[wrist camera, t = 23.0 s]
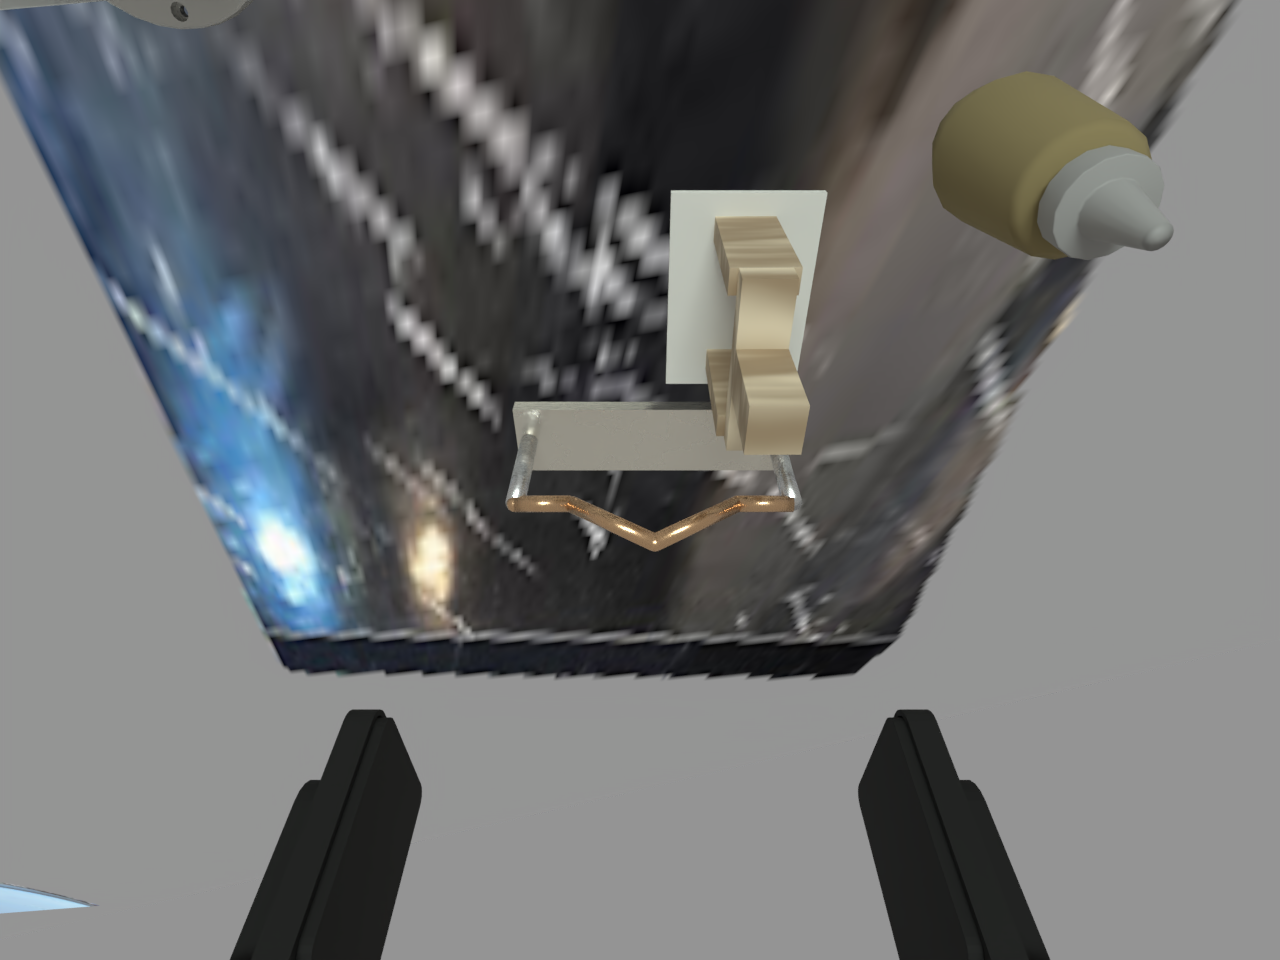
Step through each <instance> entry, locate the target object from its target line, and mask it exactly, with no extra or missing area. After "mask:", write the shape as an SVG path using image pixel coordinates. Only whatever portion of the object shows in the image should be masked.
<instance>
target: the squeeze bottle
mask: <svg viewBox="0 0 1280 960" xmlns="http://www.w3.org/2000/svg"><path fill="white" fill-rule="evenodd" d="M932 173H933V186H934V189H935V191H936V193H937V195H938V198H939V200H940V202H941V204H942V206H943V208H944V209H946V210H947V211H948V212H950V213H951V214H952V215H954V216H955V217H956V218H958V219H959V220H961V221H962V222H964V223H966V224H968V225H970V226H972V227H974V228H976V229H978V230H980V231H982V232H984V233H986V234H988V235H990V236H992V237H994V238H996V239H998V240H1000V241H1002V242H1004V243H1006V244H1008V245H1010V246H1012V247H1014V248H1016V249H1018V250H1020V251H1022V252H1024V253H1026V254H1028V255H1030V256H1033V257H1040V258H1047V259H1054V260H1055V259H1059V258H1064V257H1068V256H1069V257H1070V258H1077V259H1084V260H1090V259H1094V258H1099V257H1103V256H1107V255H1110V254H1112V253H1113V252H1115V251H1117V250H1119V249H1121V248H1122V247H1124V246H1126V247H1131V248H1136V249H1141V250H1146V251H1155V250H1159V249H1160V248H1162V247H1164V246H1165V245H1166V244H1167V243H1168V242H1169V241H1170V239H1171V238H1172V236H1173V232H1174V229H1173V226H1172V224H1171V223H1170V222H1169V221H1168V220H1167V219H1166V217H1165V216H1164V215H1163V214H1162V213H1161V211H1160V210H1159V209H1158V208H1159V206H1160V203H1161V198H1162V194H1163V189H1164V181H1163V177H1162V173H1161V169H1160V167H1159V166H1158V165H1157V164H1156V163H1155V162H1153V161H1152V157H1151V153H1150V149H1149V145H1148V141H1147V137H1146V136H1145V135H1144V134H1142V133H1141V132H1140V131H1139V130H1138V129H1137V128H1136V127H1135V126H1134V125H1133V124H1131V123H1130V122H1129V121H1128V120H1126V119H1124V118H1123V117H1121V116H1119V115H1118V114H1116V113H1114V112H1113V111H1111V110H1109V109H1108V108H1106V107H1104V106H1103V105H1101V104H1100V103H1098V102H1096V101H1095V100H1093V99H1091V98H1090V97H1088V96H1086V95H1085V94H1083V93H1081V92H1080V91H1078V90H1076V89H1075V88H1073V87H1071V86H1070V85H1068V84H1066V83H1065V82H1063V81H1061V80H1060V79H1058V78H1056V77H1055V76H1051V75H1045V74H1040V73H1034V72H1028V71H1025V72H1022V73H1018V74H1015V75H1011V76H1007V77H1004V78H1000V79H997V80H994V81H992V82H990V83H988V84H986V85H984V86H982V87H980V88H978V89H976V90H974V91H972V92H971V93H969V94H968V95H966V96H965V97H964V98H962V99H961V100H959V101H958V102H956V103H955V104H954V105H953V106H952V108H951V109H950V110H949V112H948V113H947V114H946V115H945V117H944V118H943V119H942V121H941V122H940V124H939V127H938V129H937V132H936V135H935V137H934V140H933V142H932Z"/></svg>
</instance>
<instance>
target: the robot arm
mask: <svg viewBox="0 0 1280 960" xmlns="http://www.w3.org/2000/svg"><path fill="white" fill-rule="evenodd" d="M98 1H107V2H109V3H110V4H112V5H114V6H115V7H117V8H119V9H121V10H123V11H125V12H126V13H128V14H130V15H132V16H134V17H136V18H139V19H141V20H144V21H147V22H150V23H152V24H155V25H158V26H164V27H170V28H176V29H196V28H205V27H210V26H215V25H219V24H222V23H224V22H226V21H228V20H230V19H232V18H234V17H236V16H238V15H239V14H240V13H241V12H242V11H243V10H244V9H245V8H246V7H248V6H249V5H250V4H251V3H252V2H253V0H0V10H9V9H20V8H31V7H43V6H54V5H65V4H76V3H87V2H98ZM184 7H185V8H186V10H187V11H188V15H187V14H186V13H185V11H184ZM421 799H422V786H421V783H420V780H419V778H418V776H417V773H416V771H415V769H414V766H413V764H412V761H411V759H410V757H409V754H408V752H407V750H406V747H405V745H404V743H403V740H402V738H401V735H400V733H399V731H398V728H397V726H396V724H395V721H394V719H393V718H391V717H386V715H385V713H384V711H383V710H380V709H352V710H350V711H349V712H348V713H347V714H346V716H345V718H344V720H343V723H342V725H341V728H340V731H339V733H338V736H337V738H336V741H335V744H334V746H333V749H332V751H331V754H330V757H329V759H328V762H327V764H326V767H325V769H324V772H323V775H322V777H321V780H309V781H308V782H306V783H305V784H304V785H303V787H302V788H301V789H300V791H299V793H298V795H297V797H296V799H295V801H294V803H293V805H292V808H291V810H290V813H289V815H288V818H287V820H286V823H285V825H284V828H283V830H282V832H281V835H280V837H279V840H278V842H277V845H276V847H275V850H274V852H273V855H272V857H271V859H270V862H269V864H268V867H267V869H266V872H265V874H264V877H263V879H262V882H261V884H260V887H259V889H258V891H257V894H256V896H255V899H254V901H253V904H252V906H251V909H250V911H249V913H248V916H247V919H246V921H245V923H244V926H243V928H242V931H241V933H240V936H239V938H238V940H237V943H236V945H235V948H234V950H233V953H232V955H231V958H230V960H381V956H382V952H383V948H384V945H385V941H386V937H387V933H388V929H389V925H390V921H391V917H392V913H393V910H394V906H395V902H396V898H397V894H398V890H399V886H400V882H401V879H402V875H403V871H404V867H405V863H406V859H407V855H408V851H409V847H410V844H411V840H412V836H413V832H414V828H415V824H416V820H417V816H418V813H419V809H420V805H421ZM858 799H859V805H860V809H861V813H862V816H863V820H864V824H865V828H866V832H867V836H868V840H869V844H870V848H871V851H872V855H873V859H874V863H875V867H876V871H877V875H878V879H879V882H880V886H881V890H882V894H883V898H884V902H885V906H886V910H887V913H888V917H889V921H890V925H891V929H892V933H893V937H894V941H895V944H896V948H897V952H898V956H899V960H1050V958H1049V955H1048V953H1047V950H1046V948H1045V945H1044V943H1043V940H1042V938H1041V936H1040V933H1039V931H1038V928H1037V926H1036V923H1035V921H1034V918H1033V916H1032V913H1031V911H1030V909H1029V906H1028V904H1027V901H1026V899H1025V896H1024V894H1023V891H1022V889H1021V887H1020V884H1019V882H1018V879H1017V877H1016V874H1015V872H1014V869H1013V867H1012V865H1011V862H1010V860H1009V857H1008V855H1007V852H1006V850H1005V847H1004V845H1003V842H1002V840H1001V837H1000V835H999V832H998V830H997V828H996V825H995V823H994V820H993V818H992V816H991V813H990V810H989V808H988V805H987V803H986V801H985V799H984V797H983V795H982V793H981V791H980V789H979V788H978V787H977V785H976V784H975V783H974V782H972V781H971V780H959V777H958V775H957V772H956V769H955V767H954V764H953V762H952V759H951V757H950V754H949V751H948V749H947V746H946V744H945V741H944V738H943V736H942V733H941V731H940V728H939V726H938V723H937V720H936V718H935V716H934V714H933V713H932V712H931V711H930V710H928V709H900V710H897V711H896V713H895V715H894V717H889V718H887V719H886V721H885V724H884V726H883V728H882V731H881V733H880V735H879V738H878V740H877V743H876V745H875V747H874V750H873V752H872V755H871V757H870V759H869V762H868V764H867V766H866V769H865V771H864V774H863V776H862V778H861V781H860V783H859V786H858Z"/></svg>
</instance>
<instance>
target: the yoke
mask: <svg viewBox="0 0 1280 960" xmlns="http://www.w3.org/2000/svg"><path fill="white" fill-rule="evenodd" d="M714 245H715V249H716V253H717V256H718V260H719V264H720V268H721V272H722V276H723V280H724V284H725V288H726V292H727V296H736V306H735V317H734V328H733V339H732V349H707V352H706V367H705V369H706V375H707V382H708V388H709V394H710V401H711V407H712V413H713V420H714V426H715V432H716V436H724V440H725V446H726V451H743V453H744V455H801V453H802V448H803V442H804V437H805V431H806V426H807V420H808V415H809V409H810V404H809V402H808V399H807V396H806V394H805V391H804V388H803V386H802V383H801V380H800V378H799V375H798V372H797V370H796V367H795V364H794V362H793V359H792V356H791V354H790V351H789V344H790V338H791V331H792V324H793V318H794V311H795V305H796V298H797V295H799V290H800V284H801V277H802V271H803V267H802V265H801V263H800V261H799V259H798V257H797V255H796V253H795V251H794V249H793V247H792V245H791V243H790V241H789V239H788V238H787V236H786V234H785V232H784V230H783V228H782V226H781V224H780V222H779V220H778V218H777V216H715V227H714Z"/></svg>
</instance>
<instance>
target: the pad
mask: <svg viewBox="0 0 1280 960" xmlns="http://www.w3.org/2000/svg"><path fill="white" fill-rule="evenodd" d="M826 199H827V192H826V190H671V205H670V241H669V277H668V313H667V349H666V384H708V382H707V375H706V369H705V367H706V352H707V349H732V339H733V328H734V317H735V306H736V296H727V292H726V288H725V284H724V280H723V276H722V272H721V268H720V264H719V260H718V256H717V253H716V249H715V245H714V227H715V216H777V218H778V220H779V222H780V224H781V226H782V228H783V230H784V232H785V234H786V236H787V238H788V239H789V241H790V243H791V245H792V247H793V249H794V251H795V253H796V255H797V257H798V259H799V261H800V263H801V265H802V267H803V271H802V277H801V284H800V290H799V295H797V298H796V305H795V311H794V318H793V324H792V331H791V338H790V344H789V351H790V354H791V356H792V359H793V362H794V364H795V367H796V370H797V371H798V365H799V359H800V353H801V347H802V341H803V335H804V329H805V323H806V317H807V311H808V306H809V300H810V294H811V288H812V282H813V276H814V270H815V264H816V258H817V252H818V246H819V240H820V234H821V229H822V223H823V217H824V211H825V205H826Z"/></svg>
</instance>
